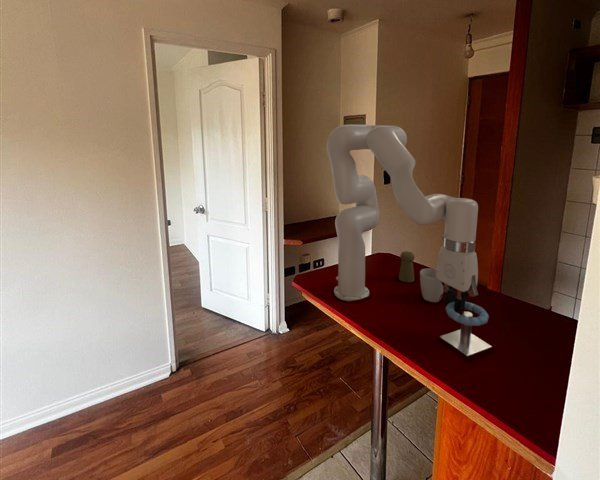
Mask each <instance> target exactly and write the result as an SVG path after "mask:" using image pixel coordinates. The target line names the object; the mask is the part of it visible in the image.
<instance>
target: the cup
mask: <svg viewBox="0 0 600 480" xmlns="http://www.w3.org/2000/svg"><path fill="white" fill-rule="evenodd" d="M419 282H420V290H421V295H422V298H423V299H424V300H425V301H426V302H430V303H439V302H440V301H441V300H442V298H443V294H444V287H443V285H442V283H441V282H440V280H439V279H438V278H437V277H436V268H432V267H430V268H429V267H428V268H426V267H425V268H421V270H420V271H419Z"/></svg>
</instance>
